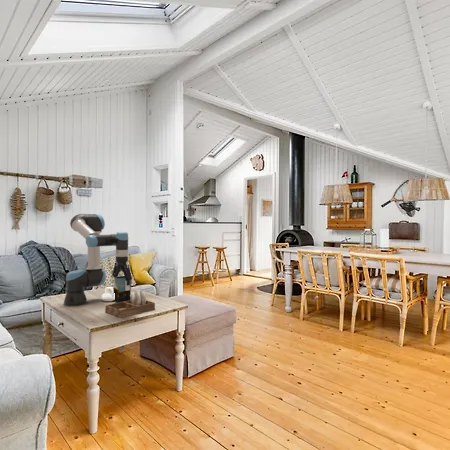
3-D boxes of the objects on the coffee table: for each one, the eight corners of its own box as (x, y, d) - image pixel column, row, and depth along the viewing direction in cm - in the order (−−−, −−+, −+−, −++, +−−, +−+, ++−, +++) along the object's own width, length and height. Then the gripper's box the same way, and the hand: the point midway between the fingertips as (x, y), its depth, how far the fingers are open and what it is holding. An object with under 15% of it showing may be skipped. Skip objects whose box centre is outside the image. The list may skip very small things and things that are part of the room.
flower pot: (119, 292, 205) (118, 278, 205) (114, 290, 212) (114, 277, 212) (132, 290, 210) (132, 276, 210) (127, 288, 217) (127, 275, 217)
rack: (105, 312, 213) (105, 293, 213) (139, 304, 233) (139, 287, 233) (120, 317, 201) (120, 298, 201) (154, 309, 221) (154, 291, 221)
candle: (112, 300, 245) (112, 287, 245) (126, 298, 252) (126, 285, 251) (117, 303, 237) (117, 289, 237) (130, 301, 243) (130, 287, 243)
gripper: (106, 254, 217) (106, 286, 218) (127, 258, 201) (127, 292, 201) (117, 253, 223) (116, 284, 223) (137, 257, 206) (137, 290, 207)
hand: (121, 288), depth 212 cm, fingers open, 13 cm apart
